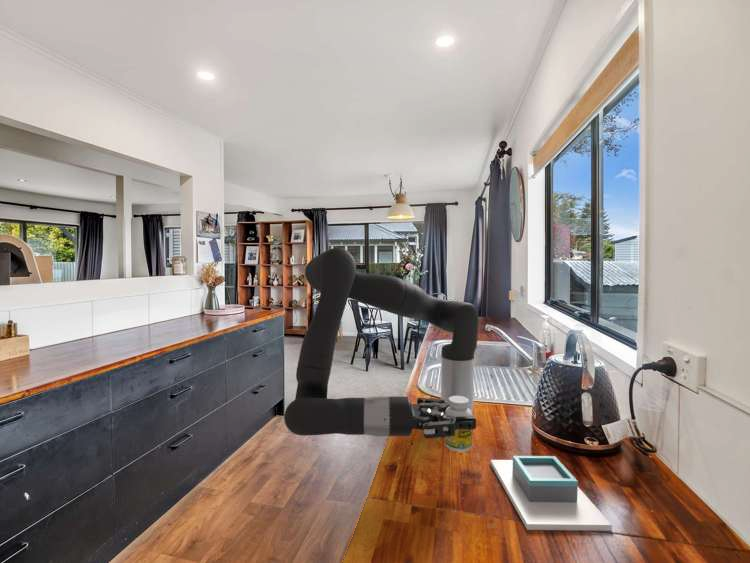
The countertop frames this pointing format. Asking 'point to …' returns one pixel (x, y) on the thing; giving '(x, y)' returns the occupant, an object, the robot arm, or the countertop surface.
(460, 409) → the supplement bottle
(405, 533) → the countertop surface
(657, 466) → the countertop surface
